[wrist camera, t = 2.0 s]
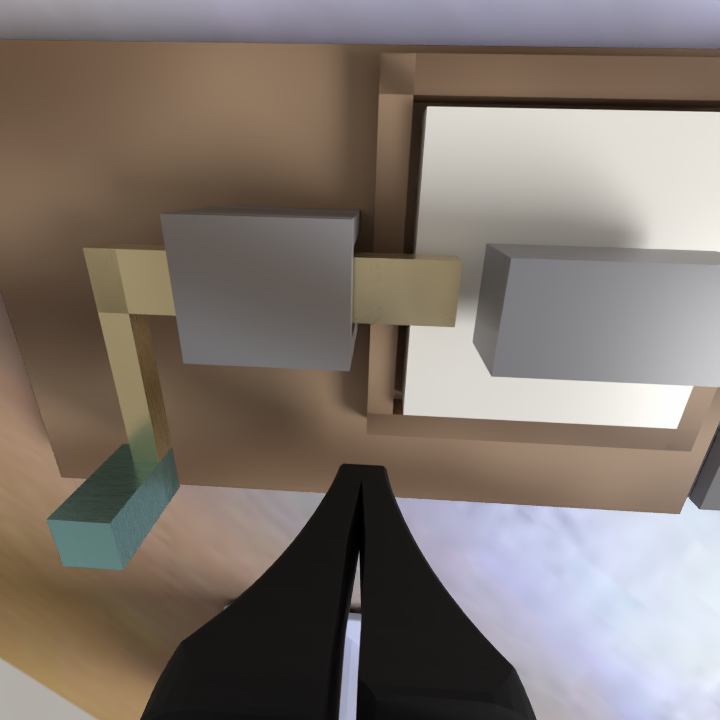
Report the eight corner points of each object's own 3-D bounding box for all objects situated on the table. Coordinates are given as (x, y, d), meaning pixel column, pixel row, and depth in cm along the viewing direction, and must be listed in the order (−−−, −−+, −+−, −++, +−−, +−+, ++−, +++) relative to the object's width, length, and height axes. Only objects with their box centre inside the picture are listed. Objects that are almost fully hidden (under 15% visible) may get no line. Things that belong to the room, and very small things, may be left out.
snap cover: (647, 403, 13) (762, 501, 9) (401, 391, 14) (408, 481, 10) (744, 123, 10) (986, 82, 6) (422, 116, 11) (445, 74, 6)
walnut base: (654, 486, 16) (759, 603, 12) (86, 454, 17) (-20, 550, 13) (818, 67, 11) (1132, -17, 6) (-29, 55, 12) (-289, -26, 7)
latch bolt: (428, 501, 13) (440, 592, 10) (132, 483, 14) (63, 566, 11) (457, 255, 10) (486, 284, 7) (73, 242, 11) (-47, 265, 8)
